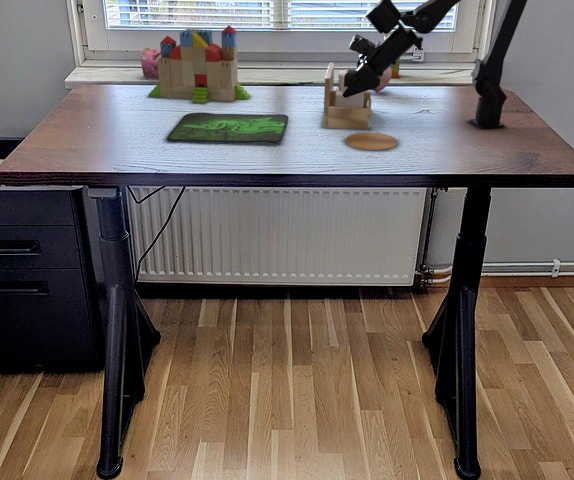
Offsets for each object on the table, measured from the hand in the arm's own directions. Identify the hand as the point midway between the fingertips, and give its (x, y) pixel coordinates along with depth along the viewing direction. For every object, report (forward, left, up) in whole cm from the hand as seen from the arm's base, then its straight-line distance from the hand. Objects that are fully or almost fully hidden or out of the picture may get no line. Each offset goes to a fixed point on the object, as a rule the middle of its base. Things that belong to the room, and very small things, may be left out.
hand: (344, 92), depth 162 cm
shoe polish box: (+40, -30, -7) cm, 51 cm away
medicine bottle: (-1, -1, -7) cm, 7 cm away
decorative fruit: (+22, -18, -7) cm, 29 cm away
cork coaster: (-20, 0, -7) cm, 21 cm away
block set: (+29, +33, -7) cm, 45 cm away
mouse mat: (-3, +30, -7) cm, 31 cm away
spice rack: (-1, -1, -7) cm, 7 cm away
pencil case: (+53, +37, -7) cm, 65 cm away
